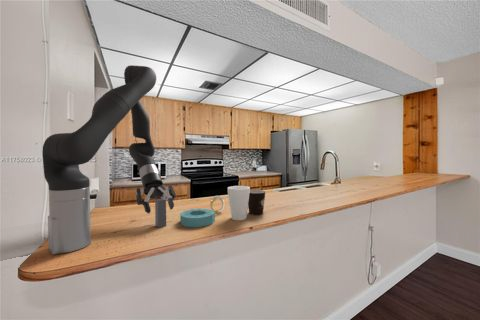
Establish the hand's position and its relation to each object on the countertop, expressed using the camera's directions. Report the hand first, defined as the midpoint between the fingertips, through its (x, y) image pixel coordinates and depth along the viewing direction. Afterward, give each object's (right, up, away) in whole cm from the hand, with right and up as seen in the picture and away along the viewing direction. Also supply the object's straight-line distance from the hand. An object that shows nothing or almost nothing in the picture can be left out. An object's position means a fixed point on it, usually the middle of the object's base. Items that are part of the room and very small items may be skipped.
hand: (161, 210), depth 78 cm
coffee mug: (+39, -6, +18) cm, 43 cm away
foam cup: (+29, -6, +10) cm, 32 cm away
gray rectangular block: (0, -6, 0) cm, 6 cm away
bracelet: (+19, -6, +18) cm, 27 cm away
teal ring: (+13, -6, +5) cm, 15 cm away
